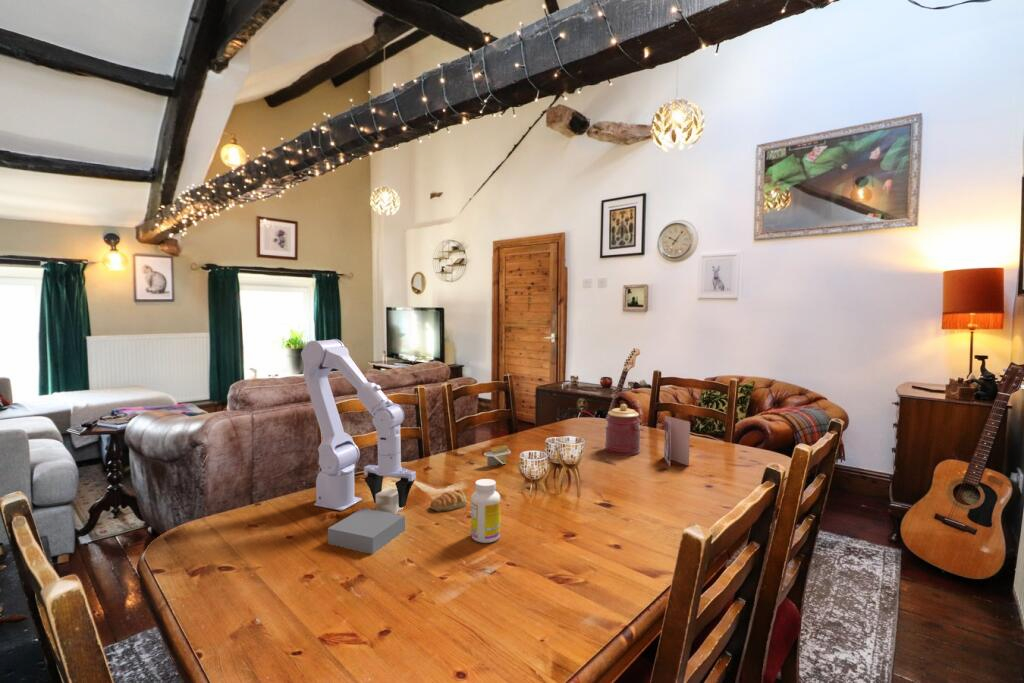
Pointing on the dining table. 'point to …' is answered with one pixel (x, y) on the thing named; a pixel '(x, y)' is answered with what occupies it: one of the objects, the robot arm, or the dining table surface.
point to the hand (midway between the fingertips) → (389, 504)
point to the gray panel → (366, 530)
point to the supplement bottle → (485, 512)
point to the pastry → (449, 500)
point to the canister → (623, 431)
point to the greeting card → (676, 440)
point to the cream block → (388, 501)
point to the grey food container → (497, 455)
